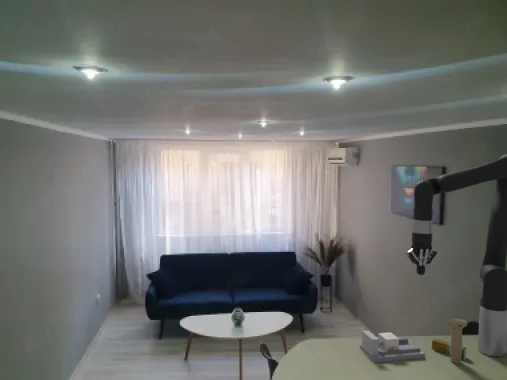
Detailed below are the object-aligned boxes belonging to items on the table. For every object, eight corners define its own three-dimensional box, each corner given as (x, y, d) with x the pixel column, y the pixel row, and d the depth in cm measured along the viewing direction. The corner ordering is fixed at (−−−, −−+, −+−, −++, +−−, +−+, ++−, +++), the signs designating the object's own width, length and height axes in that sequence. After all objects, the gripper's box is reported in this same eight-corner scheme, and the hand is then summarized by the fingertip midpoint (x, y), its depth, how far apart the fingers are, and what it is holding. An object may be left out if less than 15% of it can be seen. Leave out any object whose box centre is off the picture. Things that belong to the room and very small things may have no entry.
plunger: (390, 345, 167) (390, 332, 167) (401, 354, 159) (402, 341, 159) (370, 346, 166) (371, 333, 165) (381, 356, 158) (381, 342, 157)
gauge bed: (407, 344, 172) (407, 325, 172) (424, 357, 161) (425, 337, 160) (359, 347, 168) (360, 328, 168) (374, 362, 157) (374, 341, 156)
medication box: (466, 358, 161) (467, 347, 161) (463, 360, 159) (464, 349, 159) (434, 347, 170) (434, 337, 169) (431, 349, 168) (431, 339, 168)
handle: (467, 365, 155) (469, 323, 154) (449, 365, 155) (451, 323, 154) (461, 359, 160) (463, 318, 159) (443, 358, 160) (445, 318, 159)
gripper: (431, 229, 177) (430, 271, 178) (401, 230, 174) (400, 272, 176) (443, 232, 170) (441, 276, 171) (412, 233, 167) (410, 277, 168)
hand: (420, 274), depth 173 cm, fingers closed
